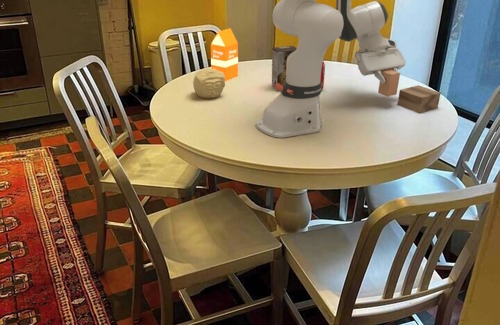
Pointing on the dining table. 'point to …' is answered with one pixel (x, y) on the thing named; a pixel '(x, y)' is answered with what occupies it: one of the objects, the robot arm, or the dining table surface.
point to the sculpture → (209, 83)
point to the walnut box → (418, 99)
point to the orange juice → (225, 54)
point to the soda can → (322, 74)
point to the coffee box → (280, 64)
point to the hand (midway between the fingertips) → (390, 81)
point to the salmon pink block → (389, 83)
